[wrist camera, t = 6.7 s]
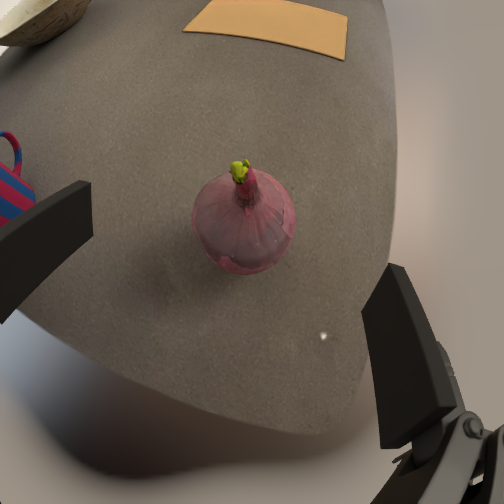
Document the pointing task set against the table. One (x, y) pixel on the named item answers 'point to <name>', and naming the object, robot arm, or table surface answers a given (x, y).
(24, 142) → the table surface
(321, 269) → the table surface
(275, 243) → the vegetable
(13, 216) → the cup
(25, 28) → the bowl
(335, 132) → the table surface
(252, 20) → the cork mat
